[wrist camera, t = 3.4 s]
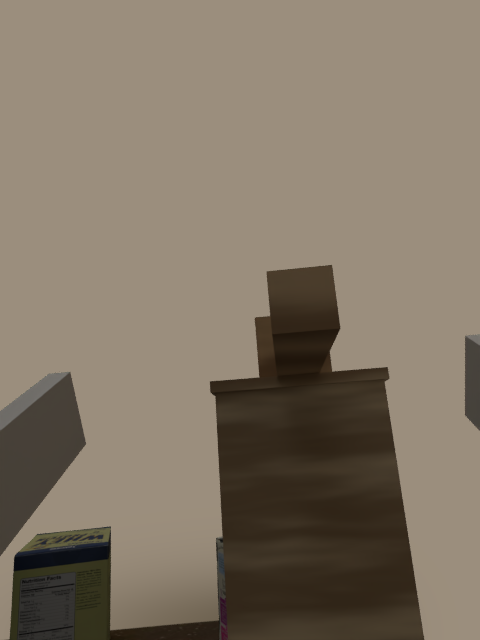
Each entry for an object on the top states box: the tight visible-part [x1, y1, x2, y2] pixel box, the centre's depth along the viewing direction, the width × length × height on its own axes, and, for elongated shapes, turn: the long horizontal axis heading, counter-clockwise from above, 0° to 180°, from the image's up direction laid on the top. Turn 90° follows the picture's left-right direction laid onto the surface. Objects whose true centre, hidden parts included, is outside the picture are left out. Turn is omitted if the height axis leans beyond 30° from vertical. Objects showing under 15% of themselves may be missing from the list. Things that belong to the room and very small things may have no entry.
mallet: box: [255, 265, 340, 378], centre depth 32 cm, size 24×6×6 cm, turn 174°
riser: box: [210, 367, 424, 640], centre depth 34 cm, size 13×13×30 cm
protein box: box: [10, 527, 111, 640], centre depth 57 cm, size 10×16×16 cm
